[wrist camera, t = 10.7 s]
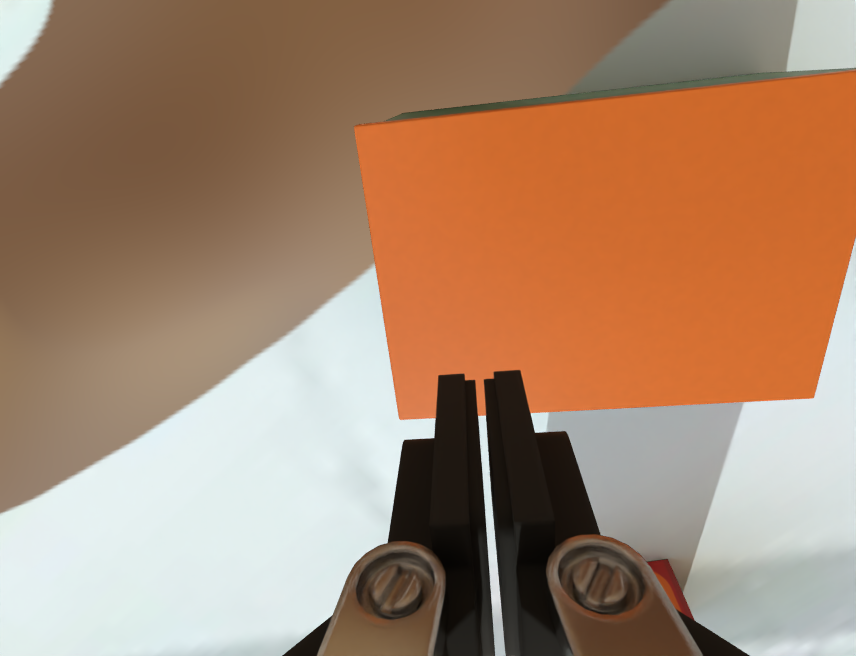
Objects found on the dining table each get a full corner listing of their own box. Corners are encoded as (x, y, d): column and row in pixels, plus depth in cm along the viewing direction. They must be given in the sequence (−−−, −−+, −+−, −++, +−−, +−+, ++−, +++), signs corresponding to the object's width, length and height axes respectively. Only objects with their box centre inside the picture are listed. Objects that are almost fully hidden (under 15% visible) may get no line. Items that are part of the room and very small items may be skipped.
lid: (401, 409, 22) (399, 420, 21) (358, 124, 17) (353, 125, 16) (802, 387, 20) (814, 398, 20) (880, 66, 15) (901, 65, 15)
